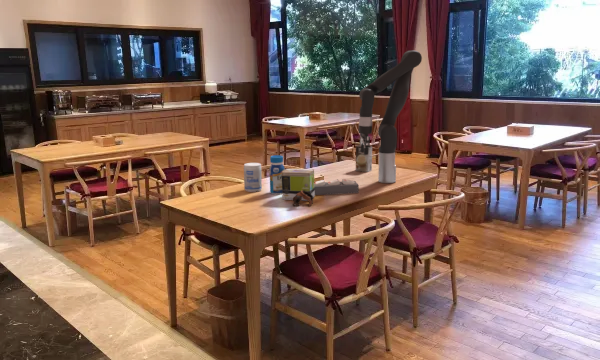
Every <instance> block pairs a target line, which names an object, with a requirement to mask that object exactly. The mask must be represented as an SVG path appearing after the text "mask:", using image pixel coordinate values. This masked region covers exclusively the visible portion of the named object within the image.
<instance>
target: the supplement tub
mask: <svg viewBox="0 0 600 360" xmlns="http://www.w3.org/2000/svg"><path fill="white" fill-rule="evenodd" d="M243 180H244V181H243V183H244V184H243V185H244V191H245V192H249V193H256V191H257V192H261V190H262V186H263V184H262V181H263V180H262V164H261V163H260V162H248V163H244V164H243Z"/></svg>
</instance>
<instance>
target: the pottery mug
mask: <svg viewBox="0 0 600 360" xmlns="http://www.w3.org/2000/svg"><path fill="white" fill-rule="evenodd" d="M302 197H303V198H304V199H305V200H308V203H309V204H308V206H309V207H311V206H312V205H313V202H314V198H315V196H314V197H313V196H312V195H311V194H310V193H308V192H306V191H303V190H301V192H299V193H297V194H296V196H295V197H293V200H292V206H293V207H295V206H296V207H299V205H300V202H301V201H302V200H301V199H302ZM310 199H311V200H310Z"/></svg>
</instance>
